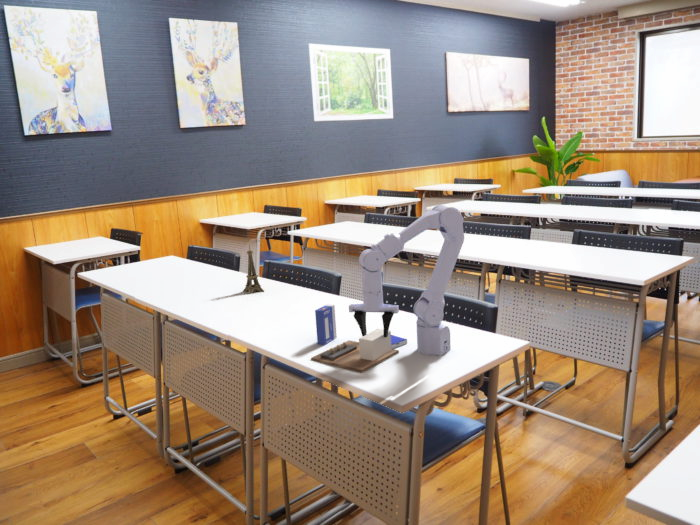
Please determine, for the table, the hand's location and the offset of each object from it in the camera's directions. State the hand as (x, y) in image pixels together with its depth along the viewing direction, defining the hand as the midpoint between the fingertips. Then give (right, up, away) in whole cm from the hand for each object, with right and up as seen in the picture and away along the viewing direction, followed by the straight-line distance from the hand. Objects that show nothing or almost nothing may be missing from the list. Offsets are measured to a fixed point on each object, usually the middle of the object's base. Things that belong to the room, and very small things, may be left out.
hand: (375, 335), depth 167 cm
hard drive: (-1, -2, +18) cm, 18 cm away
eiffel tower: (-49, +6, +82) cm, 96 cm away
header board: (-6, -6, +2) cm, 9 cm away
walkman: (-15, -4, +17) cm, 23 cm away
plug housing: (0, -5, +1) cm, 6 cm away
